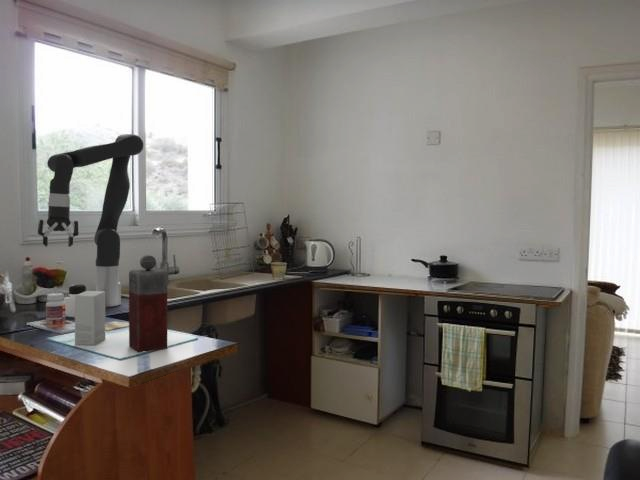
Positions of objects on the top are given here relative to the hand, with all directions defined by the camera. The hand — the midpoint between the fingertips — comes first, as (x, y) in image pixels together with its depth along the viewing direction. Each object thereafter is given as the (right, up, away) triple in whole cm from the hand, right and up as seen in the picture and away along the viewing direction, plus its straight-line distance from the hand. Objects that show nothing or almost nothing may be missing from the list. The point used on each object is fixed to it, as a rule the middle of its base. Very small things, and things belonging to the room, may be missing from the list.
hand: (58, 246), depth 206 cm
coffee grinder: (+51, -30, -47) cm, 75 cm away
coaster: (+30, -28, -21) cm, 46 cm away
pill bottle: (+10, -28, -21) cm, 37 cm away
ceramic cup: (+79, -22, +118) cm, 143 cm away
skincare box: (+32, -30, -43) cm, 61 cm away
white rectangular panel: (+12, -28, -22) cm, 38 cm away
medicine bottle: (+9, -27, -3) cm, 29 cm away
